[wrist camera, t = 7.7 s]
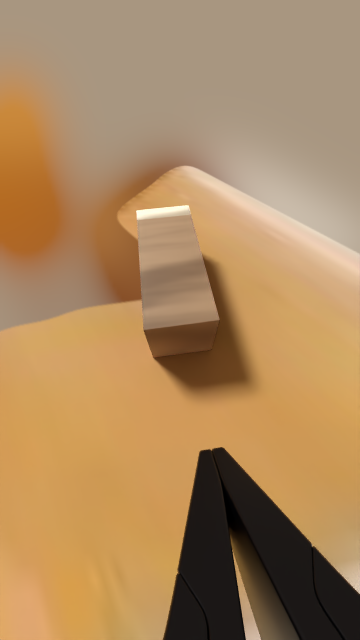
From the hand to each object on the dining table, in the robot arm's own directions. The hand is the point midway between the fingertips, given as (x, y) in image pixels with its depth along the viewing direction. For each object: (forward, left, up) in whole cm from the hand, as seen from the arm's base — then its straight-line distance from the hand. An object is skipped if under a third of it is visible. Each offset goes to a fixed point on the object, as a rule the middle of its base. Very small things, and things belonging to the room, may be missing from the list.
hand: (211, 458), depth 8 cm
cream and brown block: (+4, -6, -6) cm, 9 cm away
